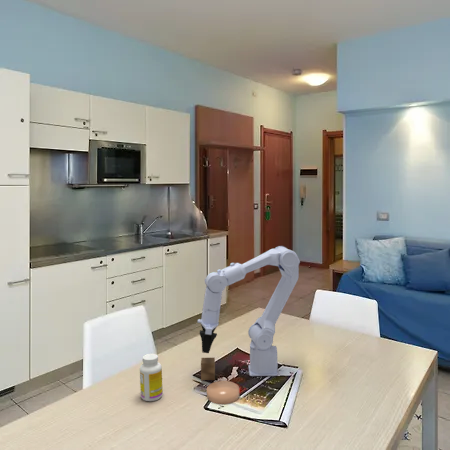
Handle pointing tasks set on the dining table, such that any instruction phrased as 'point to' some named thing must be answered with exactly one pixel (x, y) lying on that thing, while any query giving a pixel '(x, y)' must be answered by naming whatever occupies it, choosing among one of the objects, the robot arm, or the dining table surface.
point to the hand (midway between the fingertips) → (206, 348)
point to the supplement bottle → (151, 378)
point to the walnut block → (207, 369)
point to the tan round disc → (222, 392)
